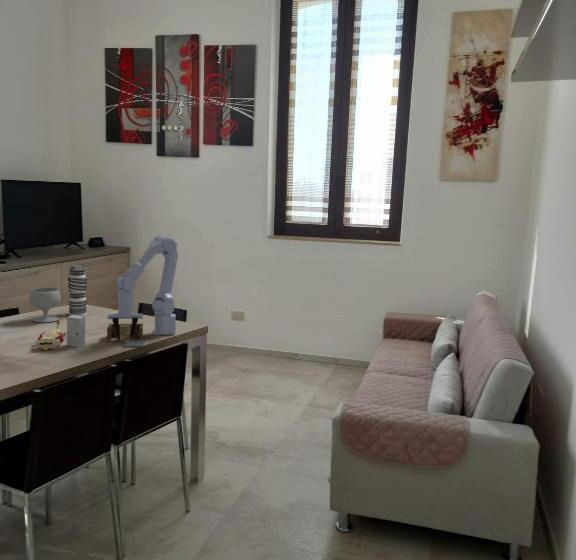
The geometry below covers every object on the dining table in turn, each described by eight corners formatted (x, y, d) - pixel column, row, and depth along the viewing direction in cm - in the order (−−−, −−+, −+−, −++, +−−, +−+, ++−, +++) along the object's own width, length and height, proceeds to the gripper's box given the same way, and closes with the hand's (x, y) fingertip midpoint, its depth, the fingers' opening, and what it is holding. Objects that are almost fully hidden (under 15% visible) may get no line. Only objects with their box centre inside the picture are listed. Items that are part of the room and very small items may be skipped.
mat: (144, 342, 236) (144, 340, 236) (143, 347, 229) (143, 345, 229) (124, 342, 234) (124, 341, 234) (123, 347, 227) (123, 346, 227)
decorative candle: (64, 315, 278) (63, 266, 274) (74, 311, 287) (73, 264, 284) (81, 316, 277) (80, 267, 273) (90, 313, 286) (90, 265, 282)
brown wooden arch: (142, 335, 247) (142, 323, 246) (142, 341, 237) (142, 329, 236) (109, 335, 243) (109, 323, 243) (107, 342, 234) (107, 329, 233)
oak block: (130, 338, 242) (130, 324, 241) (129, 340, 238) (129, 327, 237) (120, 338, 241) (120, 324, 240) (120, 340, 237) (120, 327, 236)
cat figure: (46, 338, 240) (31, 350, 216) (46, 318, 239) (31, 328, 215) (71, 338, 242) (58, 350, 217) (70, 318, 241) (58, 328, 217)
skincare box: (66, 345, 226) (65, 316, 224) (73, 343, 230) (73, 314, 228) (78, 347, 224) (78, 318, 222) (86, 344, 228) (85, 316, 226)
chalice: (43, 325, 257) (43, 293, 255) (23, 321, 263) (22, 290, 261) (67, 319, 270) (67, 289, 268) (47, 315, 276) (46, 286, 274)
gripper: (142, 302, 243) (142, 332, 245) (108, 302, 239) (108, 333, 241) (142, 305, 236) (142, 336, 238) (107, 305, 232) (107, 337, 234)
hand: (125, 335), depth 239 cm, fingers open, 5 cm apart
